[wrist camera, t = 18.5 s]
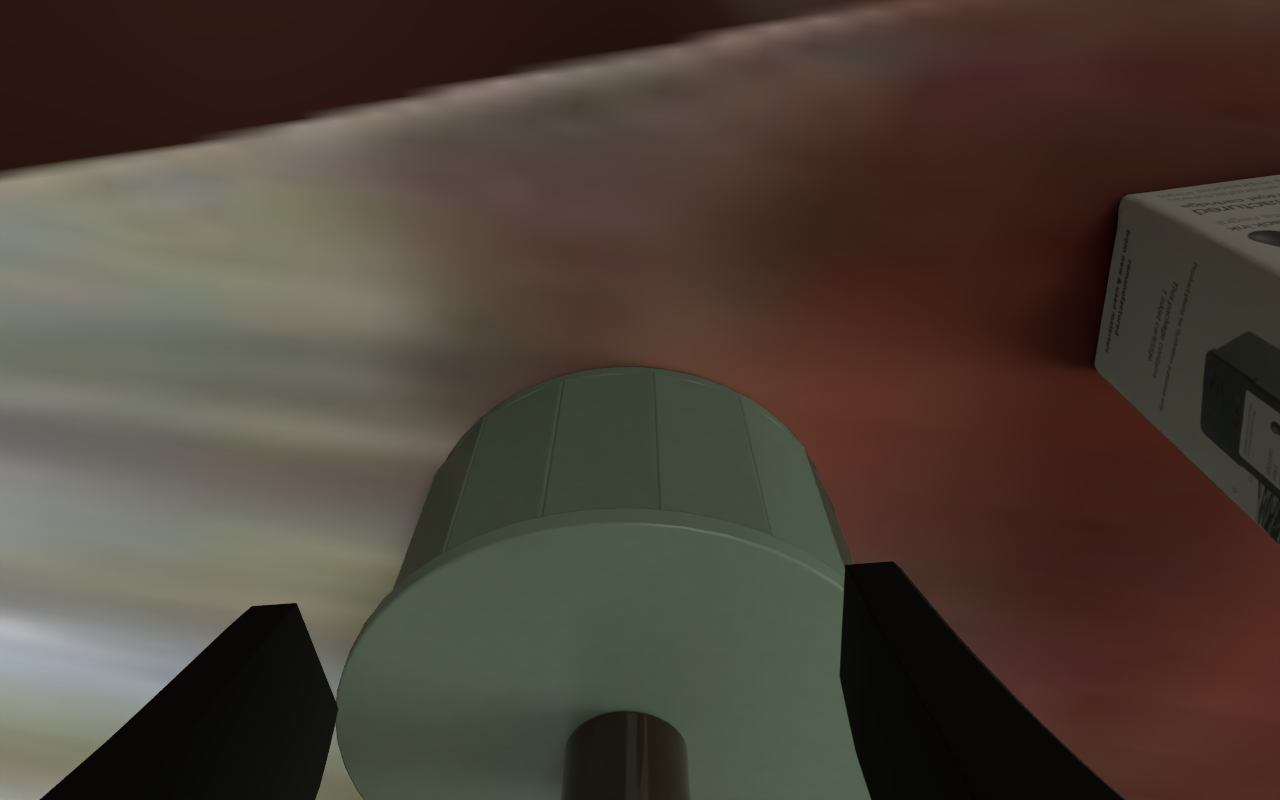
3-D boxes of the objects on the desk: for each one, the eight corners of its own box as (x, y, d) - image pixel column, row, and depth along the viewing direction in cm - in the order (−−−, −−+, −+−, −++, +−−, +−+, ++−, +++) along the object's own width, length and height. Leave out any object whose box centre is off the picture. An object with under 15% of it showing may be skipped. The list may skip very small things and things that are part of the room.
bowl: (823, 668, 26) (875, 869, 20) (470, 692, 26) (426, 894, 21) (835, 348, 20) (911, 504, 15) (386, 384, 21) (294, 549, 15)
